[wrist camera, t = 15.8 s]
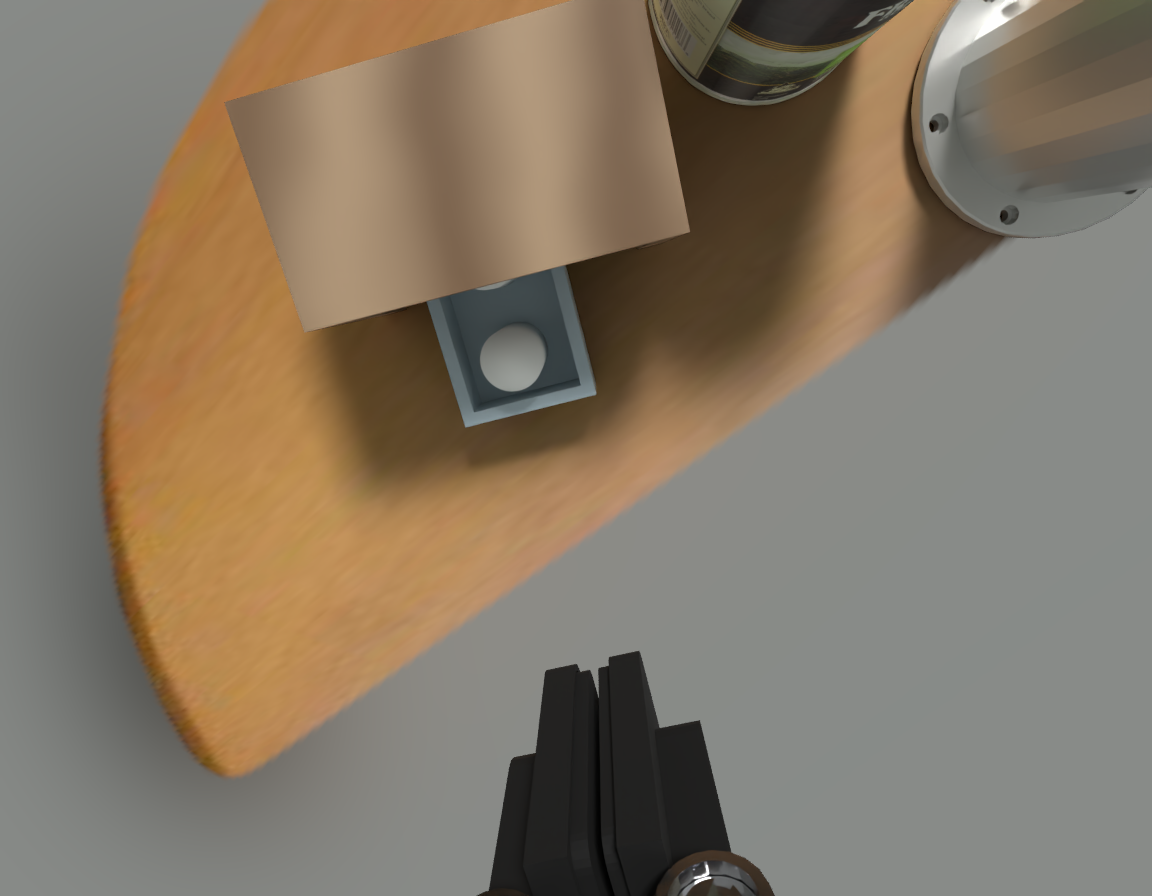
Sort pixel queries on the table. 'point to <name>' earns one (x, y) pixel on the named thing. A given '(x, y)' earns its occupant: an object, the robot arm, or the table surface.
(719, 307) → the table surface
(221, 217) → the table surface
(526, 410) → the tray
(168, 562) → the table surface
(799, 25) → the coffee can
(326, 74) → the wooden footstool
